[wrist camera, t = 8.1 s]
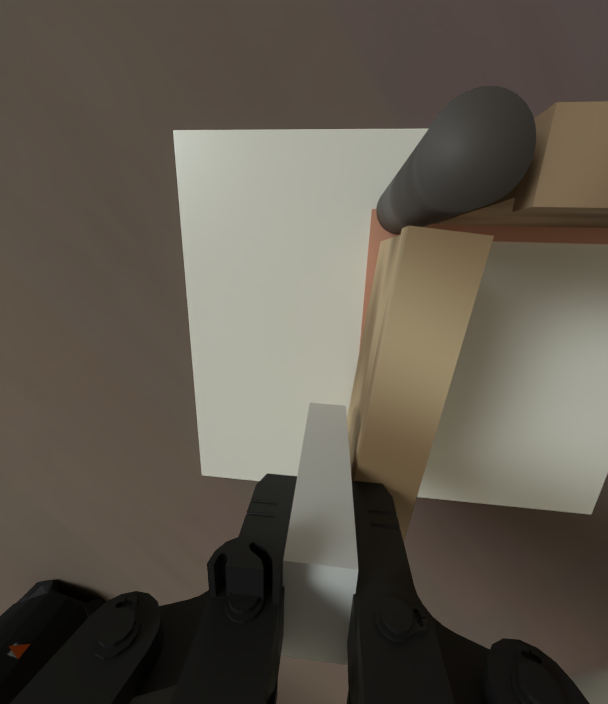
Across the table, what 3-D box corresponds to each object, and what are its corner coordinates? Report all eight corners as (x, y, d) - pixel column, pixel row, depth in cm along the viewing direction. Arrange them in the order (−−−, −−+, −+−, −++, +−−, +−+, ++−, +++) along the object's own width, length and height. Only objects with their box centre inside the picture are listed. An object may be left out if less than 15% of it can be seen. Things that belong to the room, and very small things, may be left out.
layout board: (729, 130, 12) (745, 125, 11) (585, 508, 17) (592, 516, 17) (177, 133, 14) (171, 129, 13) (204, 470, 19) (200, 476, 19)
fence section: (698, 186, 12) (1305, 70, 4) (678, 240, 13) (1182, 219, 5) (378, 183, 13) (432, 87, 6) (374, 233, 14) (416, 207, 6)
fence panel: (373, 240, 14) (409, 225, 7) (415, 245, 13) (494, 236, 7) (336, 446, 17) (334, 576, 10) (369, 451, 17) (389, 587, 10)
